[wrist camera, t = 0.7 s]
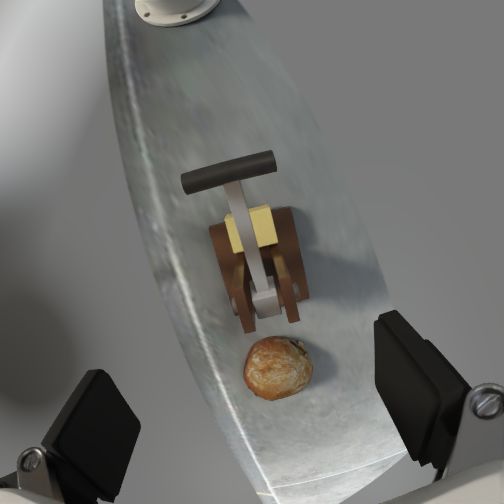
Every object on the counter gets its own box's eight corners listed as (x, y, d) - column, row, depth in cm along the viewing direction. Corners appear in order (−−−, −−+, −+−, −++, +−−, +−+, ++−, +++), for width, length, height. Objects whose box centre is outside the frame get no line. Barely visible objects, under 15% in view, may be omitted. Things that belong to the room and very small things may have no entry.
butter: (226, 214, 34) (224, 218, 31) (267, 204, 33) (269, 207, 30) (235, 246, 35) (233, 253, 32) (275, 236, 35) (278, 242, 31)
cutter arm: (182, 167, 19) (178, 183, 17) (269, 144, 18) (275, 157, 16) (236, 304, 28) (238, 324, 26) (296, 290, 28) (302, 309, 26)
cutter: (209, 226, 35) (189, 253, 23) (289, 206, 35) (310, 223, 22) (235, 312, 38) (229, 370, 26) (308, 294, 38) (332, 347, 25)
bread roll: (311, 346, 44) (334, 355, 36) (283, 401, 42) (301, 420, 34) (257, 322, 43) (272, 329, 35) (228, 381, 41) (236, 399, 33)
